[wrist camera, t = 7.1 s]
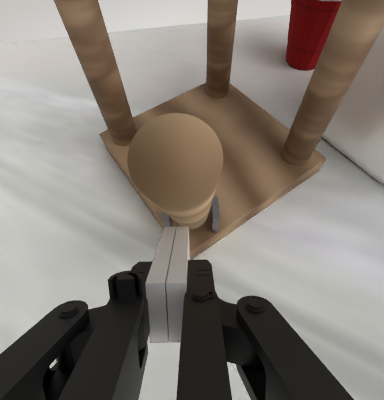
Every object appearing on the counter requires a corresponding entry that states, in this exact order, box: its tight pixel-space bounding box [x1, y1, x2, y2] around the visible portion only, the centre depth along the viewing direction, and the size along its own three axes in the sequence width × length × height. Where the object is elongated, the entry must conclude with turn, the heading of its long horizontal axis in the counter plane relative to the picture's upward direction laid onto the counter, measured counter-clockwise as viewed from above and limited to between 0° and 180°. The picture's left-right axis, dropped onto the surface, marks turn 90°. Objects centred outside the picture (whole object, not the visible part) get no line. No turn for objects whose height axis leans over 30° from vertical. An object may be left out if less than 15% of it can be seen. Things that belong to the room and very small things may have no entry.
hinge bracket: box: [162, 196, 220, 232], centre depth 25 cm, size 2×5×3 cm, turn 90°
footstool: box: [54, 0, 384, 260], centre depth 25 cm, size 20×20×21 cm
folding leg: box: [127, 113, 223, 229], centre depth 16 cm, size 3×3×16 cm
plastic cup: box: [286, 0, 342, 70], centre depth 39 cm, size 11×11×12 cm
